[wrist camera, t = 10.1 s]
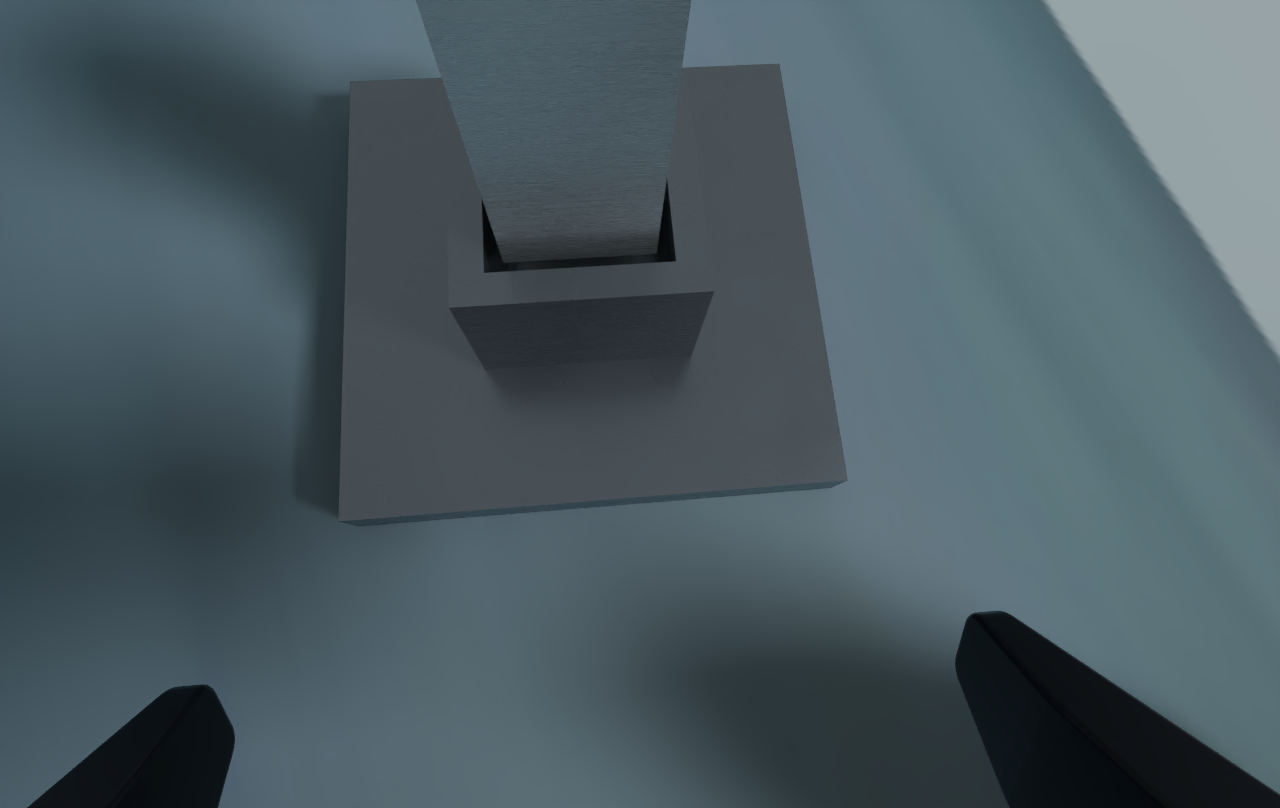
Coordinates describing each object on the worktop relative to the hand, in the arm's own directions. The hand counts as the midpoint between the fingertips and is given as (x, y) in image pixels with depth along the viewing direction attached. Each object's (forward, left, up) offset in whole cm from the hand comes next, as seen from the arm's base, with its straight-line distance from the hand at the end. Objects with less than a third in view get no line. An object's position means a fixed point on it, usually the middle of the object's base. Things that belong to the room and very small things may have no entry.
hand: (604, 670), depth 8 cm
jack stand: (+9, +5, -12) cm, 16 cm away
